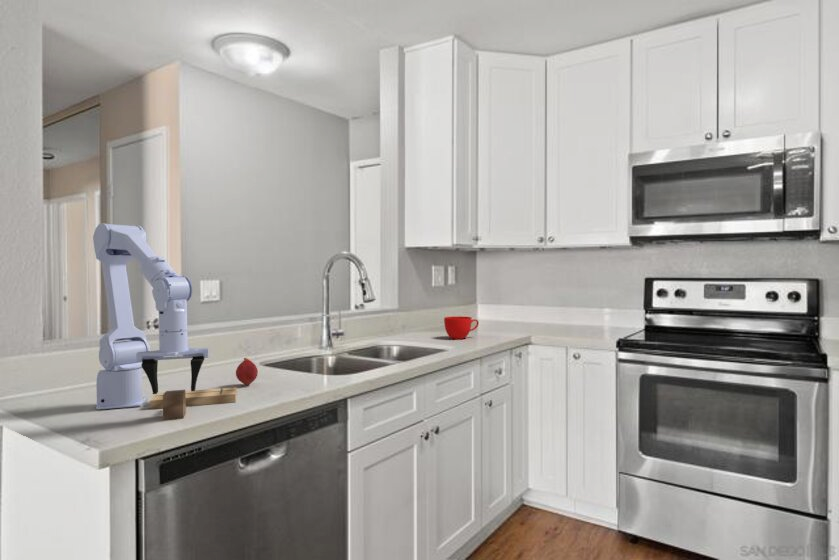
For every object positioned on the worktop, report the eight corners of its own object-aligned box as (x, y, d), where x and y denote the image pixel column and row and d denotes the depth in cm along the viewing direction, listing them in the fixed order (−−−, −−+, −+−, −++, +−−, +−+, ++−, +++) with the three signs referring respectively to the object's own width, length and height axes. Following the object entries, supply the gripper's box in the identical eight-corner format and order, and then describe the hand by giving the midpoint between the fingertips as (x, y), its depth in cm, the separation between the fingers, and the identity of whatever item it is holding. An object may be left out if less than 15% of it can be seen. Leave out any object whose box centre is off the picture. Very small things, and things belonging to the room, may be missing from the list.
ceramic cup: (483, 339, 240) (483, 318, 240) (449, 341, 235) (449, 319, 235) (473, 336, 252) (473, 315, 252) (440, 337, 248) (440, 317, 248)
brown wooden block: (163, 420, 112) (162, 395, 112) (169, 409, 121) (169, 386, 121) (183, 418, 113) (182, 393, 113) (188, 408, 122) (188, 385, 122)
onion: (250, 382, 150) (250, 355, 150) (261, 385, 146) (261, 357, 146) (232, 385, 145) (231, 357, 145) (243, 388, 142) (243, 359, 142)
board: (150, 409, 121) (149, 400, 121) (156, 401, 129) (156, 392, 129) (235, 402, 127) (235, 393, 127) (236, 394, 134) (236, 387, 134)
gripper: (132, 334, 108) (134, 398, 108) (206, 331, 113) (208, 392, 113) (139, 330, 115) (141, 391, 115) (209, 327, 119) (210, 386, 119)
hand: (174, 391), depth 114 cm, fingers open, 7 cm apart
